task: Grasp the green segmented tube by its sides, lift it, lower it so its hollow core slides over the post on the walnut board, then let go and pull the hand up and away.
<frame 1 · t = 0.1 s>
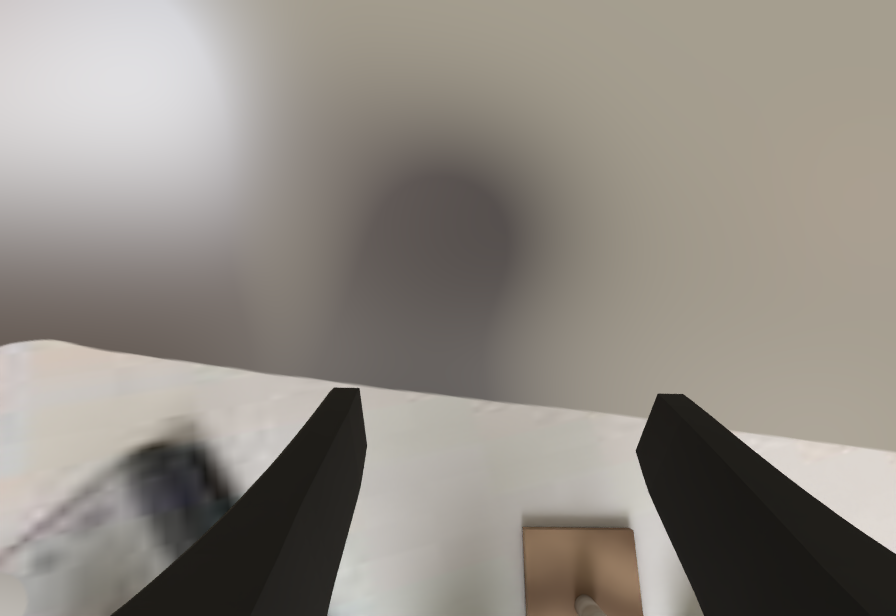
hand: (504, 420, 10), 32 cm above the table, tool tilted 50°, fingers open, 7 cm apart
spool holder: (581, 601, 36), on the table
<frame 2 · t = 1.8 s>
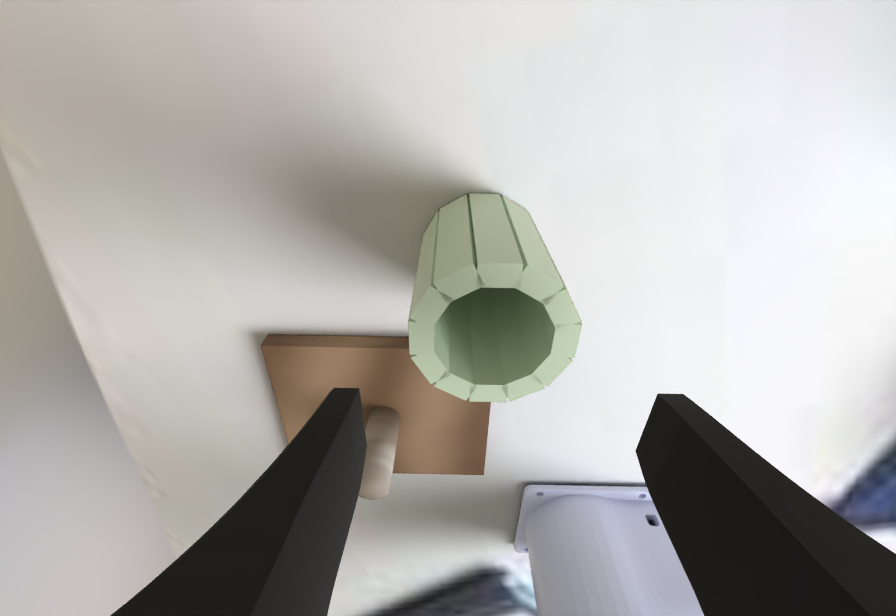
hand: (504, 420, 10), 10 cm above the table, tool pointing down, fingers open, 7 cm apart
green segmented tube: (480, 251, 19), on the table
spool holder: (387, 405, 24), on the table
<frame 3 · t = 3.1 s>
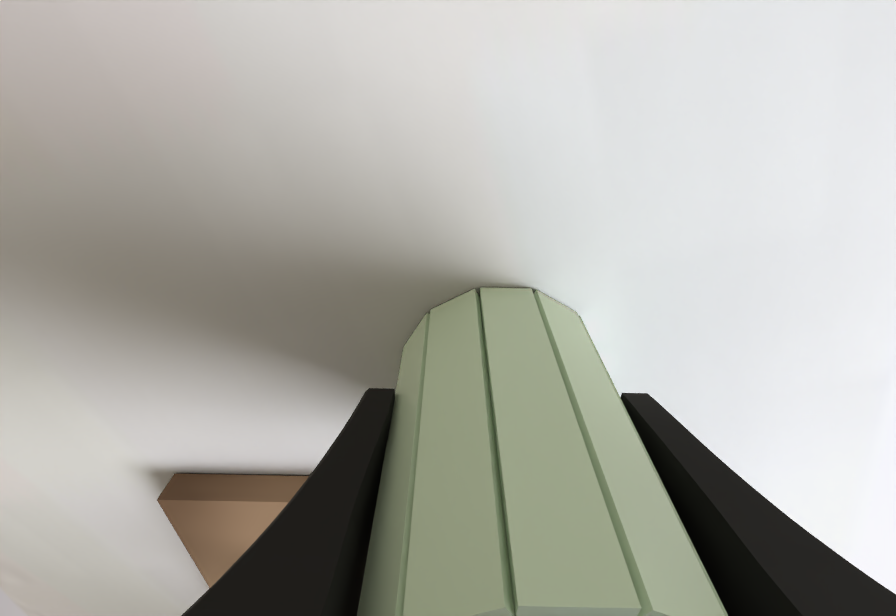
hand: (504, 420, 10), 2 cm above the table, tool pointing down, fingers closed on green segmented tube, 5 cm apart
green segmented tube: (497, 370, 12), on the table, touching gripper
spool holder: (358, 552, 17), on the table
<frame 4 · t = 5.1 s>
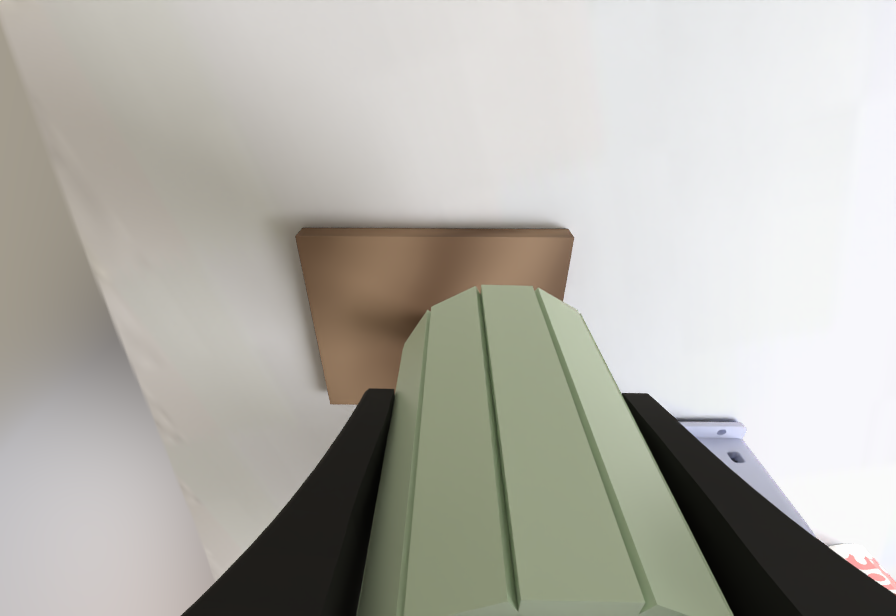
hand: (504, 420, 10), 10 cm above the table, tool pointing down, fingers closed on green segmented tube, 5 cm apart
green segmented tube: (497, 368, 12), point 8 cm above the table, touching gripper
spool holder: (436, 320, 21), on the table
beverage cup: (832, 556, 33), on the table
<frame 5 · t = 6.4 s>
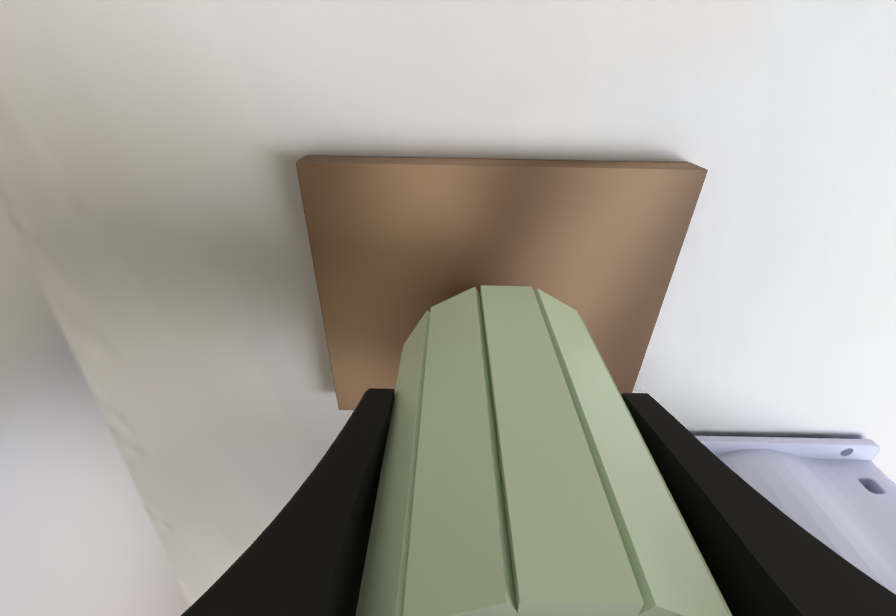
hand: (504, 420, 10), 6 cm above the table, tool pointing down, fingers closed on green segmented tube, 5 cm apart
green segmented tube: (497, 368, 12), point 4 cm above the table, touching gripper
spool holder: (487, 297, 15), on the table
when the fingers open (4 cm above the table, at t = 7.5 s): green segmented tube stays where it is, resting on spool holder.
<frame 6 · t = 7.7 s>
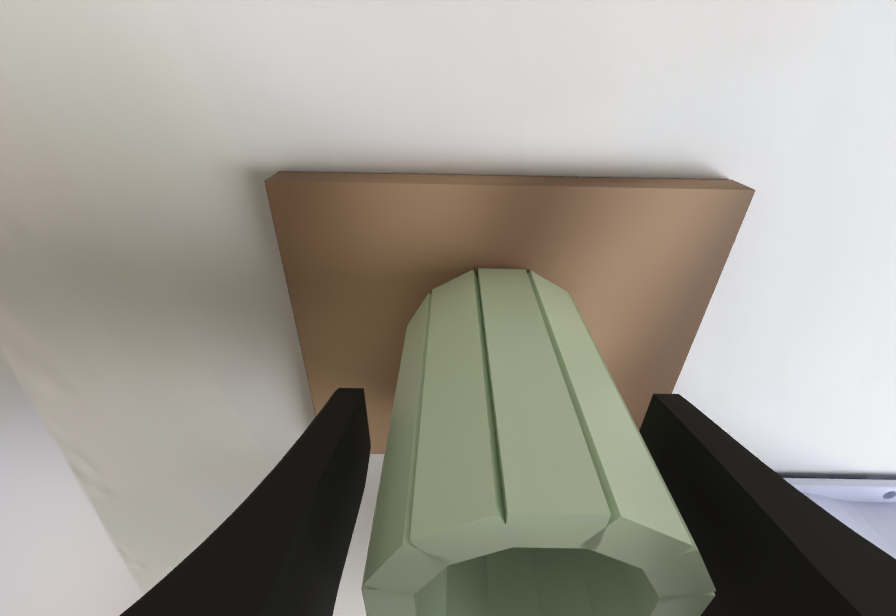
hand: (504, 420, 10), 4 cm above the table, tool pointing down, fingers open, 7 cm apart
green segmented tube: (494, 347, 12), point 1 cm above the table, touching spool holder
spool holder: (491, 330, 13), on the table
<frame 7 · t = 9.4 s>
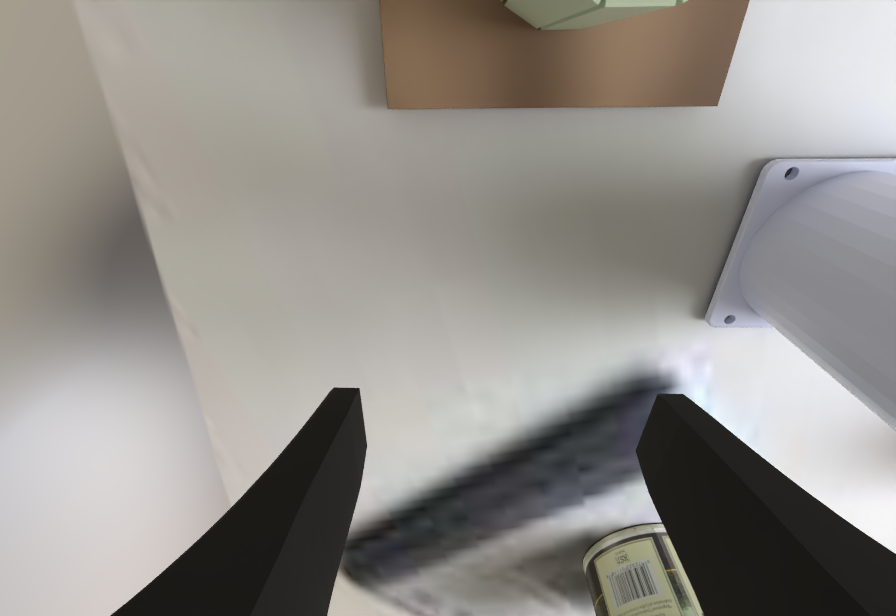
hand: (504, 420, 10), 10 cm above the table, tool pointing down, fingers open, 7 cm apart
coffee can: (646, 555, 33), on the table
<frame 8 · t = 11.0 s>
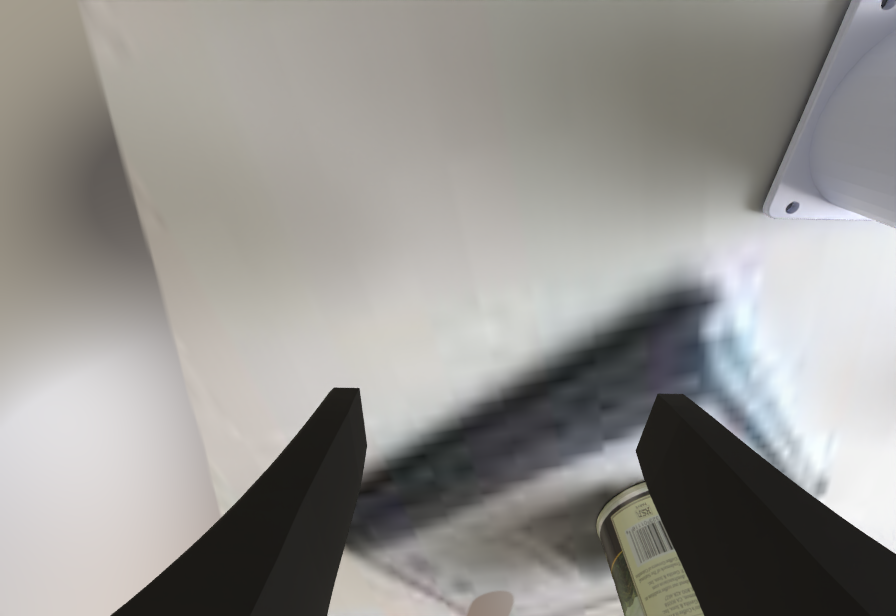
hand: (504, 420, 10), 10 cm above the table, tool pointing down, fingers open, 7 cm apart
coffee can: (665, 514, 30), on the table
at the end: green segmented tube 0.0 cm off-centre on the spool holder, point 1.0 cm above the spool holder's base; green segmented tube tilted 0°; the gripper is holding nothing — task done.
